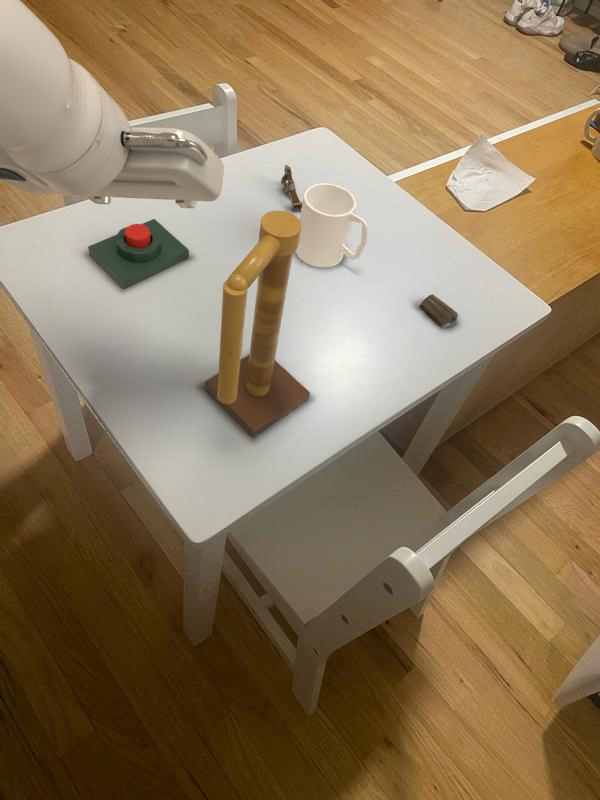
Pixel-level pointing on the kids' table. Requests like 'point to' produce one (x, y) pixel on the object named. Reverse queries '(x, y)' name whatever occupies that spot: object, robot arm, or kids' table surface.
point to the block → (439, 311)
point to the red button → (137, 236)
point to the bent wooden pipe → (274, 239)
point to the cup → (328, 225)
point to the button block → (138, 255)
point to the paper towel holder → (264, 359)
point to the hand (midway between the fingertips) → (146, 199)
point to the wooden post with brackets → (291, 188)
